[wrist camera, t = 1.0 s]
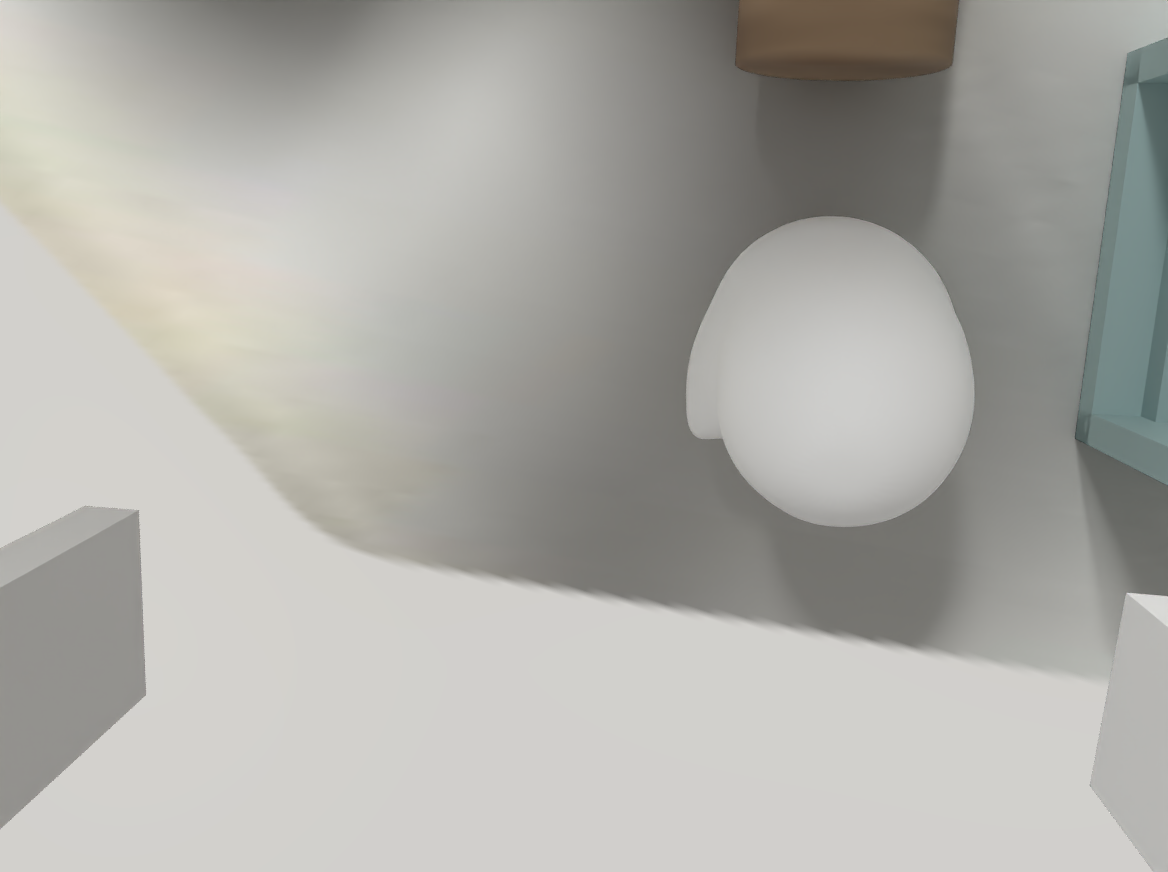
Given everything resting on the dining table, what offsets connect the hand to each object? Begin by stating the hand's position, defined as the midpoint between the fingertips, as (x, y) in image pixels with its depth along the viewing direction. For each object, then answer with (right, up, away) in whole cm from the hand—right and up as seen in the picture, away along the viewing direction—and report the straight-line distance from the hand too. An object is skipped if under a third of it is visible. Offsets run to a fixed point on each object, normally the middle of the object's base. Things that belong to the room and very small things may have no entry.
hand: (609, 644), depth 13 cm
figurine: (+7, +6, +20) cm, 22 cm away
